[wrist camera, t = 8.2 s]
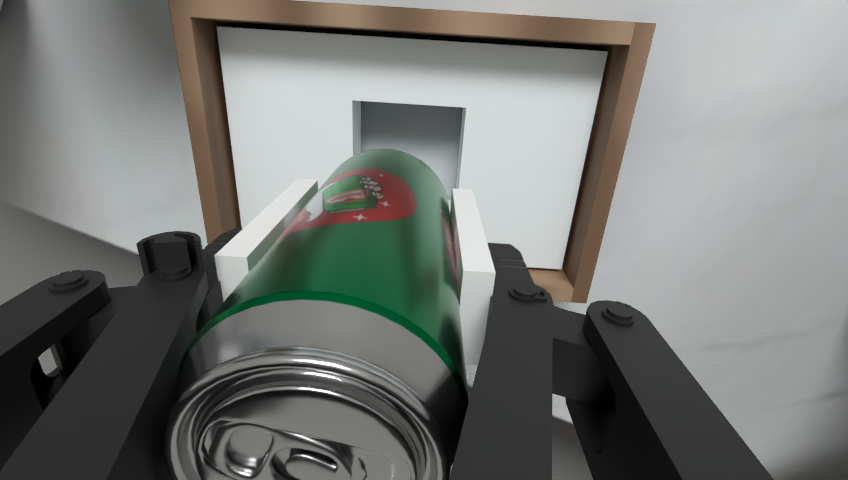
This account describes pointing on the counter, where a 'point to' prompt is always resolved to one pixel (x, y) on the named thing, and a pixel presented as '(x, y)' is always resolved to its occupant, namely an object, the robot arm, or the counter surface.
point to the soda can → (334, 343)
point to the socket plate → (423, 85)
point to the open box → (272, 6)
